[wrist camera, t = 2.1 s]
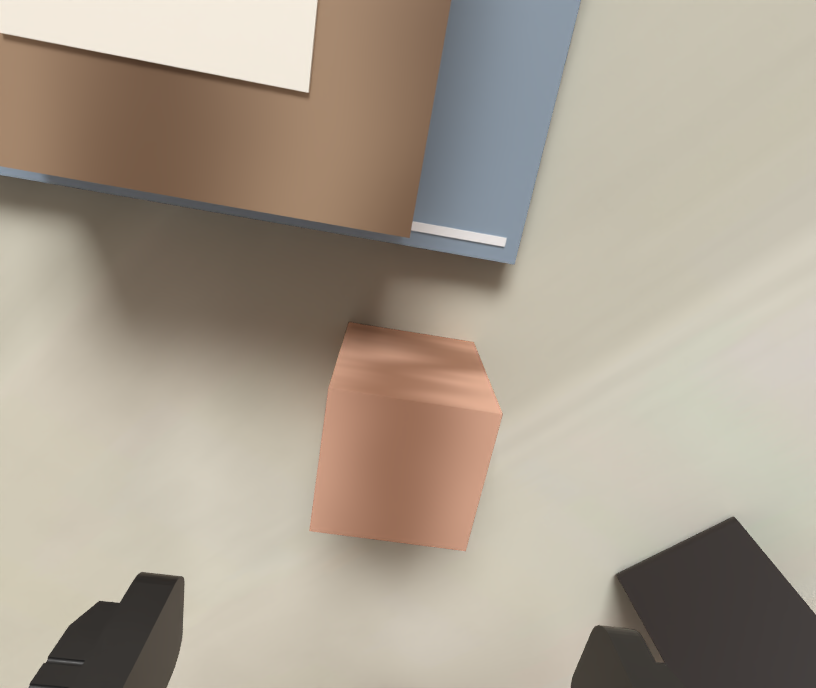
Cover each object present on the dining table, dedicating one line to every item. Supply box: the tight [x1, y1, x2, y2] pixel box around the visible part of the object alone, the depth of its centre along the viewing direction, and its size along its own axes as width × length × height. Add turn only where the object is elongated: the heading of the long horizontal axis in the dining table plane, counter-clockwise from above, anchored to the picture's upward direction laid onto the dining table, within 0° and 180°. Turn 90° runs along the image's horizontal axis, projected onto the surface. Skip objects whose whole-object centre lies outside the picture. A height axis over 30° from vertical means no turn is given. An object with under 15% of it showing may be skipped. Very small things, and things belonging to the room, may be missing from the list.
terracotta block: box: [309, 322, 503, 551], centre depth 18 cm, size 5×5×6 cm
